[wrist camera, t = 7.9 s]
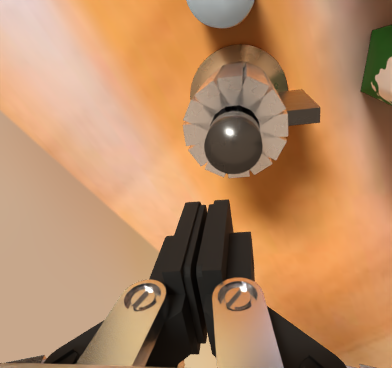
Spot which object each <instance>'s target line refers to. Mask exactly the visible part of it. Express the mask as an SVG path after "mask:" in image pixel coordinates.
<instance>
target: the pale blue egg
mask: <svg viewBox="0 0 392 368" xmlns="http://www.w3.org/2000/svg"><path fill="white" fill-rule="evenodd" d="M186 1H187V4H188V6H189V8H190V10H191V12H192V13H193V15H194V16H195V17H196V18H197V19H198V20H199V21H201V22H202V23H204V24H205V25H208V26H210V27H215V28H221V29H227V28H232V27H235V26H237V25H239V24H240V23H241V22H243V21H244V20H245V19H246V17H247V16H248V15H249V13H250V11H251V9H252V6H253V4H254V0H186Z"/></svg>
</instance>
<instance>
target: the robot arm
mask: <svg viewBox="0 0 392 368" xmlns="http://www.w3.org/2000/svg"><path fill="white" fill-rule="evenodd" d="M207 332H208V337H209V342H210V344H211V350H212V354H213V355H214V356H215V357H216V359H217V368H355V367H351V366H346V365H345V364H344V363H343V362H342V361H341V360H340V359H339V358H338V357H337V356H336V355H335V354H333V353H332V352H330V351H329V350H328V349H326V348H325V347H323V346H322V345H321V344H319V343H318V342H316V341H315V340H314V339H312V338H311V337H309V336H308V335H307V334H305V333H304V332H302V331H301V330H300V329H298V328H297V327H296V326H294V325H293V324H291V323H290V322H289V321H287V320H286V319H284V318H283V317H282V316H280V315H279V314H277V313H276V312H275V311H273V310H272V309H270V308H269V307H268V306H267V305H266V301H265V298H264V294H263V291H262V289H261V287H260V286H259V285H258V284H257V283H256V282H255V280H254V260H253V248H252V238H251V232H238V233H233V226H232V218H231V210H230V203H229V200H215V201H214V204H211V205H209V208H208V213H207V208H206V205H201V203H200V202H187V203H185V206H184V209H183V211H182V214H181V217H180V220H179V223H178V226H177V229H176V232H175V235H174V236H167V237H166V238H165V240H164V242H163V245H162V248H161V250H160V253H159V256H158V258H157V261H156V263H155V266H154V269H153V271H152V274H151V276H150V279H149V280H143V281H139V282H136V283H134V284H132V285H131V286H130V287H128V288H127V289H126V290H125V291H124V292H123V293H122V294H121V296H120V297H119V299H118V300H117V302H116V303H115V305H114V307H113V308H112V310H111V311H110V313H109V314H108V316H107V317H106V319H105V320H104V321H102V322H101V323H99V324H97V325H96V326H94V327H92V328H91V329H89V330H88V331H86V332H84V333H83V334H81V335H80V336H78V337H77V338H75V339H73V340H71V341H70V342H68V343H67V344H65V345H63V346H62V347H60V348H59V349H57V350H56V351H55V352H53V353H52V354H51V355H50V356H49V357H48V358H47V359H46V357H45V355H41V356H36V357H31V358H26V359H21V360H16V361H11V362H6V363H0V368H184V366H185V363H184V359H185V358H186V357H188V356H189V355H190V354H199V350H200V344H201V343H206V339H207ZM359 368H375V367H371V366H367V365H362V364H359Z"/></svg>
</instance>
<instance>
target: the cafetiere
mask: <svg viewBox="0 0 392 368" xmlns="http://www.w3.org/2000/svg"><path fill="white" fill-rule="evenodd" d="M190 99H191V101H190V104H189V107H188V109H187V112H186V114H185V117H184V119H183V120H184V121H185V122H184V124H183V129H184V136H185V142H186V146H190V147H189V149H188V151H189V152H190V153H191V154H192V156H193V157H194V158H195V159H196V161H197V162H198V163H199V164H200V166H202V165H204V164H205V163H206V167H205V170H208V171H210V172H213V173H215V174H217V175H220V176H222V177H224V176H225V174H226V173H223V172H221V171H219V170H217V169H216V168H214V167H213V166H212V165H211V164H210V163H209V161H208V159H207V157H206V155H205V151H204V143H205V139H206V136H207V133H208V130H209V128H210V126H211V124H212V122H213V121H214V120H215V119H216V118H217V117H218V116H220V115H221V114H223V113H226V112H230V111H231V109H232V106H235V105H240V106H242V112H243V113H246V114H248V115H250V116H251V117H252V118H253V119H254V120H255V121H256V122H257V124H258V126H259V128H260V132H261V138H262V145H263V148H262V154H261V157H260V159H259V161H258V162H257V163H256V165H255V166H253V167H252V168H251V169H250V170H251V171H252V173H253V174H254V175H255V174H257V173H259V172H260V171H262V170H263V169H265V168H267V167H268V166H270V165H272V164H273V163H272V159H274V160H277V158H278V156H279V154H280V153H281V151H282V149H283V147H284V146H285V144H286V142H287V140H286V136H288V126H290V125H300V124H310V123H320V107H319V106H318V105H317V104H316V103H315V102H314V101H313V100H312V99H311V98H310V97H309V96H308V95H307V94H306V93H305V92H304V91H303V90H302V89H301V90H293V91H288V87H287V81H286V77H285V75H284V72H283V70H282V68H281V67H280V65H279V64H278V62H277V61H276V60H275V59H274V58H273V57H272V56H271V55H270V54H268V53H267V52H265V51H264V50H262V49H260V48H257V47H254V46H250V45H241V44H240V45H231V46H227V47H224V48H222V49H220V50H218V51H216V52H214V53H213V54H211V55H210V56H209V57H208V58H207V59H206V60H205V61H204V62H203V63H202V64H201V65H200V67H199V68H198V70H197V72H196V74H195V76H194V78H193V82H192V85H191V93H190ZM228 177H229V178H238V177H250V171H249V170H248V171H246V172H243V173H240V174H228Z"/></svg>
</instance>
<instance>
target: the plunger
mask: <svg viewBox="0 0 392 368" xmlns="http://www.w3.org/2000/svg"><path fill="white" fill-rule="evenodd" d="M262 148H263V145H262V138H261V132H260V128H259V126H258V124H257V122H256V121H255V120H254V119H253V118H252V117H251V116H250V115H248V114H246V113H243V112H242V106H240V105H235V106H232V109H231V111H230V112H226V113H223V114H221V115H220V116H218V117H217V118H216V119H215V120H214V121H213V122H212V124H211V126H210V128H209V130H208V133H207V136H206V139H205V143H204V151H205V155H206V157H207V159H208V161H209V163H210V164H211V165H212V166H213V167H214V168H216V169H217V170H219V171H221V172H223V173H227V174H240V173H243V172H246V171H248V170H250V169H251V168H252V167H253V166H255V165H256V163H257V162H258V161H259V159H260V157H261V154H262Z"/></svg>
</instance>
